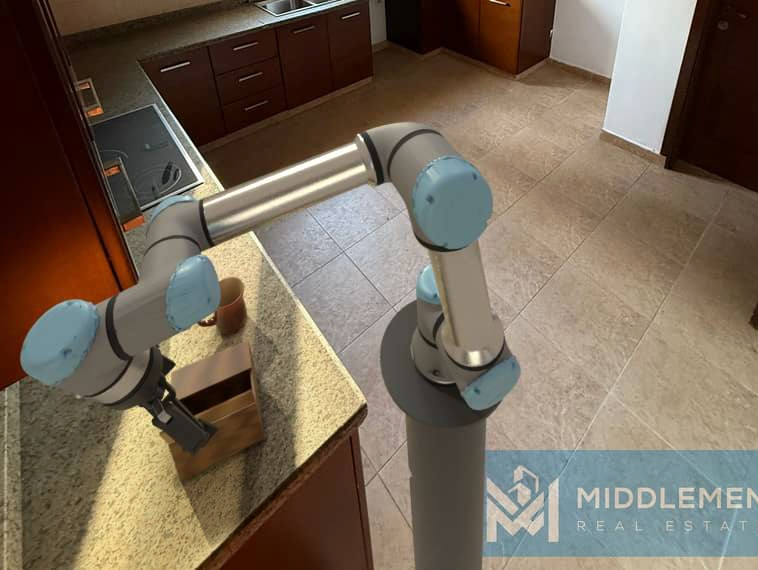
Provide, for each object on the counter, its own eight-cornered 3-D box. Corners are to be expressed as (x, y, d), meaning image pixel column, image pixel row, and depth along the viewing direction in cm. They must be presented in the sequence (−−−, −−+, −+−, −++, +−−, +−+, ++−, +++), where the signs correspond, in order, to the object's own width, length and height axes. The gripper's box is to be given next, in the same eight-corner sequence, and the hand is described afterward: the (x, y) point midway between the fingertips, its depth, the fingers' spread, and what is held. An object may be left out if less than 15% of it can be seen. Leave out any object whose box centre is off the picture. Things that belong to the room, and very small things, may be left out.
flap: (251, 389, 77) (252, 391, 77) (255, 399, 81) (255, 402, 81) (159, 432, 72) (159, 435, 71) (167, 441, 75) (167, 443, 75)
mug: (244, 300, 114) (238, 271, 111) (255, 325, 107) (249, 294, 104) (196, 327, 107) (188, 297, 104) (205, 355, 100) (196, 323, 97)
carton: (256, 375, 96) (248, 339, 92) (264, 438, 84) (255, 400, 81) (182, 409, 90) (171, 371, 86) (180, 481, 79) (167, 441, 75)
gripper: (60, 328, 62) (133, 367, 76) (136, 484, 49) (208, 496, 63) (111, 284, 66) (172, 327, 80) (195, 416, 53) (250, 441, 67)
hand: (188, 402), depth 71 cm, fingers open, 13 cm apart
